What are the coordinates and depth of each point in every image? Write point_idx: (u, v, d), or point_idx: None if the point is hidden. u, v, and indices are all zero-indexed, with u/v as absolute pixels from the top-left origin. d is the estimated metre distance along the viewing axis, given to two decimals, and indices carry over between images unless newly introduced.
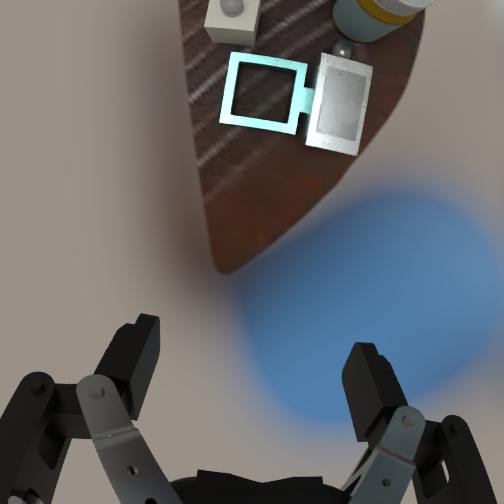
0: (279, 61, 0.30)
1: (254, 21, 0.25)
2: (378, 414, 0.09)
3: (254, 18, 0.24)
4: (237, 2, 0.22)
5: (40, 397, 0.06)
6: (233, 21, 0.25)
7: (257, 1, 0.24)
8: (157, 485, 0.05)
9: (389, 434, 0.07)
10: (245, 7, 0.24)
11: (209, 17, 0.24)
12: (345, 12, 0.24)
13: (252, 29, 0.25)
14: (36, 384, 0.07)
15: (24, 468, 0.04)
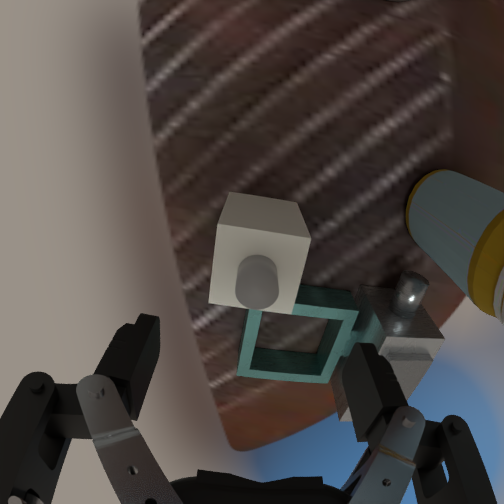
0: (321, 310, 0.23)
1: (294, 298, 0.18)
2: (378, 414, 0.09)
3: (294, 293, 0.18)
4: (268, 293, 0.16)
5: (40, 397, 0.06)
6: None
7: (302, 260, 0.17)
8: (157, 485, 0.05)
9: (389, 434, 0.07)
10: (280, 271, 0.17)
11: (216, 286, 0.18)
12: (437, 254, 0.18)
13: (289, 311, 0.19)
14: (36, 384, 0.07)
15: (24, 468, 0.04)
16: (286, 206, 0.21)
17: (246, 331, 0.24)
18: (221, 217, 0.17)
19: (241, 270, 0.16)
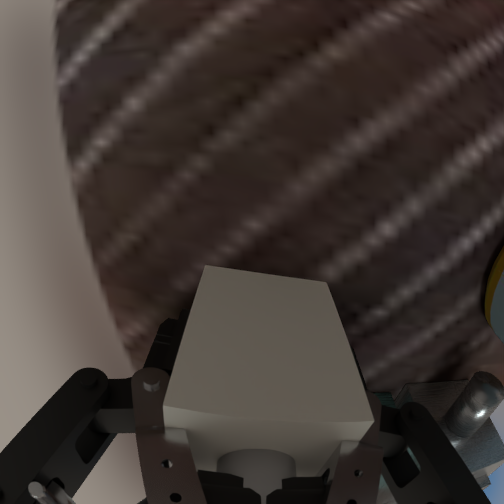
0: None
1: None
2: None
3: None
4: None
5: (94, 393, 0.07)
6: None
7: None
8: (187, 482, 0.05)
9: None
10: (301, 462, 0.07)
11: None
12: None
13: None
14: (88, 380, 0.07)
15: (55, 458, 0.05)
16: (311, 301, 0.11)
17: None
18: (175, 373, 0.07)
19: None
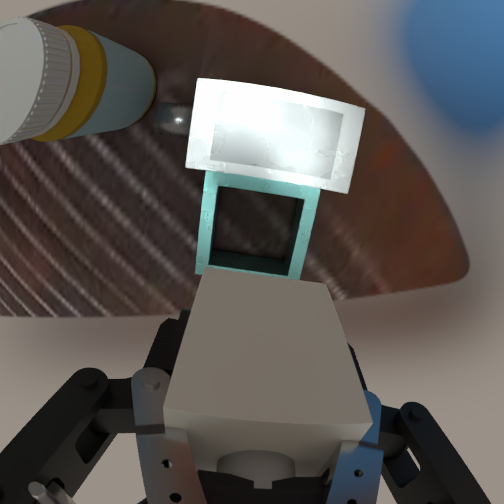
0: (205, 211, 0.23)
1: None
2: None
3: None
4: None
5: (94, 393, 0.07)
6: None
7: None
8: (187, 482, 0.05)
9: None
10: (300, 463, 0.07)
11: None
12: (105, 127, 0.18)
13: None
14: (89, 379, 0.07)
15: (55, 458, 0.05)
16: (310, 303, 0.11)
17: None
18: (175, 375, 0.07)
19: None
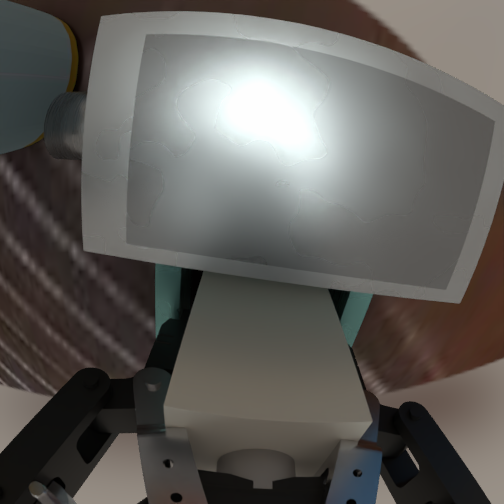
0: (163, 301, 0.12)
1: None
2: None
3: None
4: None
5: (96, 393, 0.07)
6: None
7: None
8: (188, 482, 0.05)
9: None
10: (300, 462, 0.07)
11: None
12: None
13: None
14: (90, 380, 0.07)
15: (56, 458, 0.05)
16: (310, 302, 0.11)
17: None
18: (175, 374, 0.07)
19: None
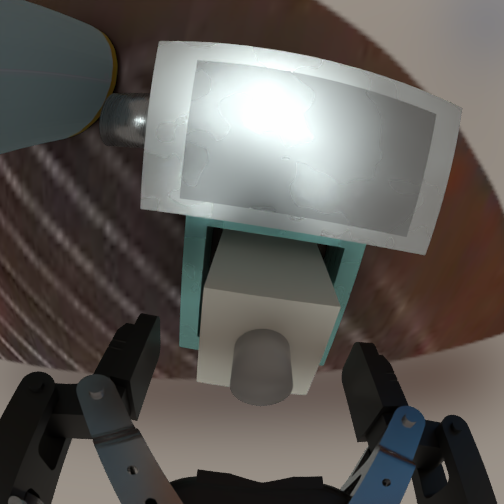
0: (189, 264, 0.15)
1: (311, 378, 0.13)
2: (378, 414, 0.09)
3: (312, 372, 0.12)
4: (277, 389, 0.10)
5: (40, 397, 0.06)
6: None
7: (326, 334, 0.12)
8: (157, 485, 0.05)
9: (389, 434, 0.07)
10: (293, 348, 0.12)
11: (205, 364, 0.13)
12: (26, 139, 0.10)
13: (304, 392, 0.13)
14: (36, 384, 0.07)
15: (24, 468, 0.04)
16: (301, 246, 0.16)
17: None
18: (210, 273, 0.12)
19: (239, 356, 0.11)
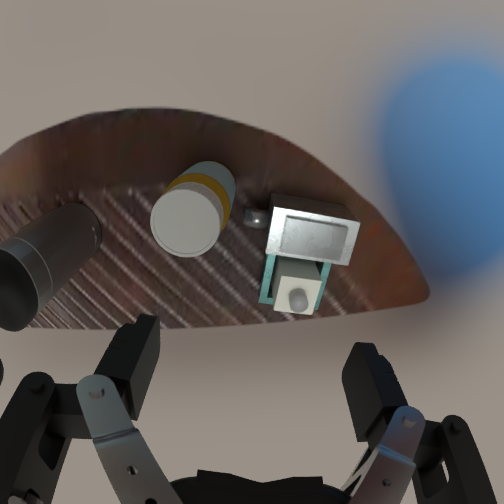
0: (267, 268, 0.41)
1: (313, 307, 0.39)
2: (378, 414, 0.09)
3: (313, 304, 0.39)
4: (304, 305, 0.36)
5: (40, 397, 0.06)
6: None
7: (317, 290, 0.38)
8: (157, 485, 0.05)
9: (389, 434, 0.07)
10: (307, 295, 0.38)
11: (278, 302, 0.39)
12: None
13: (311, 313, 0.39)
14: (36, 384, 0.07)
15: (24, 468, 0.04)
16: (308, 260, 0.42)
17: None
18: (281, 271, 0.38)
19: (292, 296, 0.37)
